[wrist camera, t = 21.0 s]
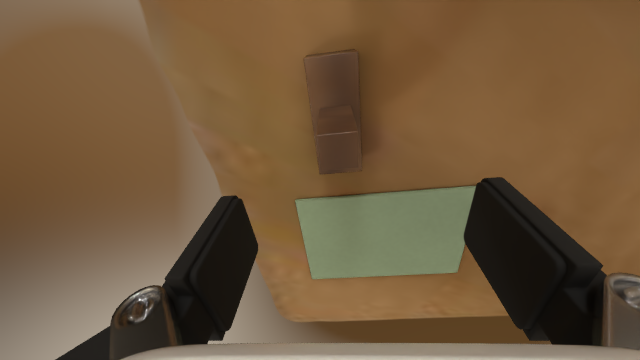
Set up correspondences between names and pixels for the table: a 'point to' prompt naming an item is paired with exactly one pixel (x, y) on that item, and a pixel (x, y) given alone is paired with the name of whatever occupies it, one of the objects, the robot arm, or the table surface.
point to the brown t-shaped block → (335, 109)
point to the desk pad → (385, 232)
